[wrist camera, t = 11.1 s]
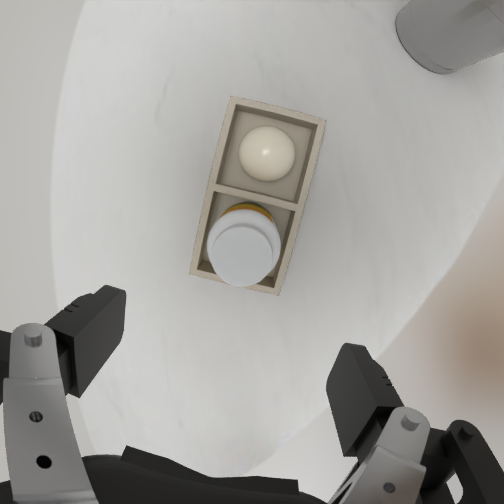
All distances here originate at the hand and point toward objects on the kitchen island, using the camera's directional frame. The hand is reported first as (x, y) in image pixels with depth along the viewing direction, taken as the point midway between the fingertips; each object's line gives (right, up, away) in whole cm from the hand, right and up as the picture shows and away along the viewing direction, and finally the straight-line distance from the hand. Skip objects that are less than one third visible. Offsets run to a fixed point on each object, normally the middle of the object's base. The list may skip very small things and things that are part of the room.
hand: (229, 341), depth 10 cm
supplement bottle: (0, +5, +19) cm, 19 cm away
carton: (+1, +9, +18) cm, 20 cm away
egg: (+2, +12, +17) cm, 21 cm away
